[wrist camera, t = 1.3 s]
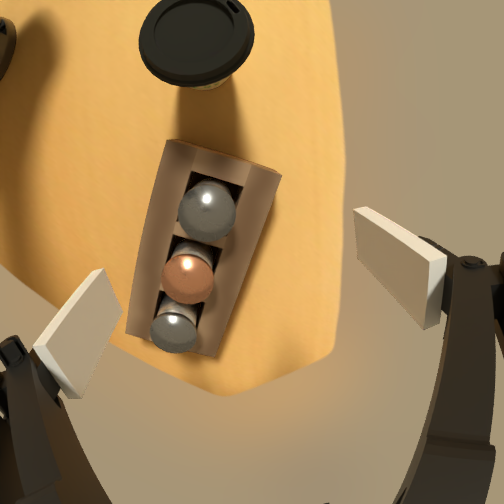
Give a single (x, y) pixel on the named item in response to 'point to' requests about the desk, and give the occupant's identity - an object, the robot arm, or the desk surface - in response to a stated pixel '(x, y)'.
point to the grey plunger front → (207, 211)
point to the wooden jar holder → (167, 227)
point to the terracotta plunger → (189, 272)
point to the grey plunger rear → (174, 326)
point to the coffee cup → (196, 41)
